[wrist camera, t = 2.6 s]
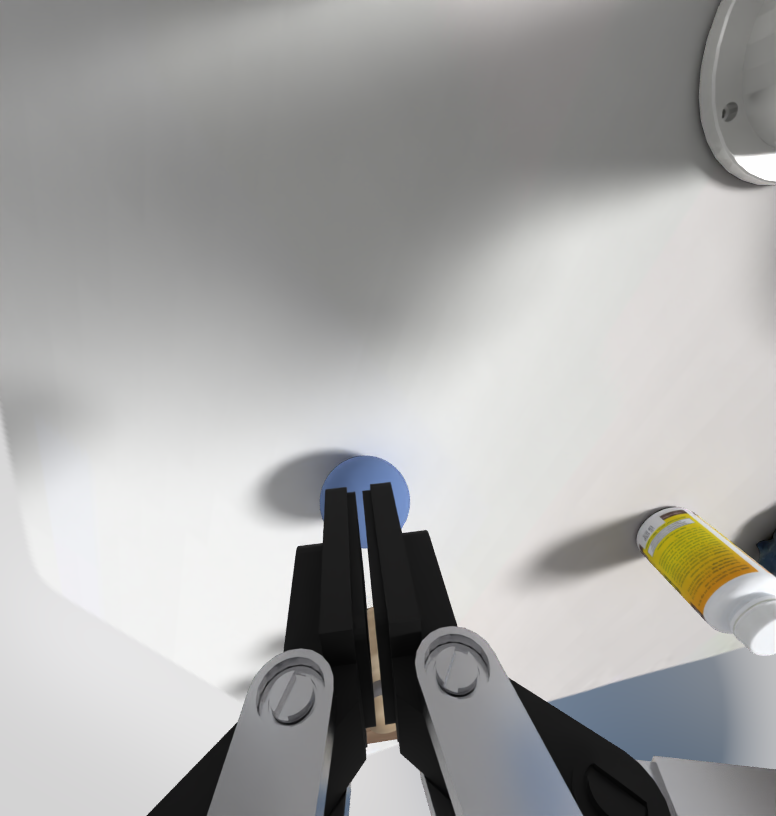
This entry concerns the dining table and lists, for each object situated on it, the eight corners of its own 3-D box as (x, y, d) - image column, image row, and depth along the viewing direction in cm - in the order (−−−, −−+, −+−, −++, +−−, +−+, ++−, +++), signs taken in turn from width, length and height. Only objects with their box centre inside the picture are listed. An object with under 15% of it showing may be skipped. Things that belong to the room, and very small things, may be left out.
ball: (316, 444, 28) (311, 496, 22) (401, 436, 28) (416, 484, 23) (326, 513, 30) (323, 574, 25) (404, 504, 31) (418, 562, 25)
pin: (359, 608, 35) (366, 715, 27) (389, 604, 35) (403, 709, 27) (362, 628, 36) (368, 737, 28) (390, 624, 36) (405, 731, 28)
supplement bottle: (620, 546, 35) (720, 658, 26) (657, 497, 34) (780, 599, 24) (667, 558, 37) (778, 669, 28) (706, 512, 35) (839, 614, 26)
